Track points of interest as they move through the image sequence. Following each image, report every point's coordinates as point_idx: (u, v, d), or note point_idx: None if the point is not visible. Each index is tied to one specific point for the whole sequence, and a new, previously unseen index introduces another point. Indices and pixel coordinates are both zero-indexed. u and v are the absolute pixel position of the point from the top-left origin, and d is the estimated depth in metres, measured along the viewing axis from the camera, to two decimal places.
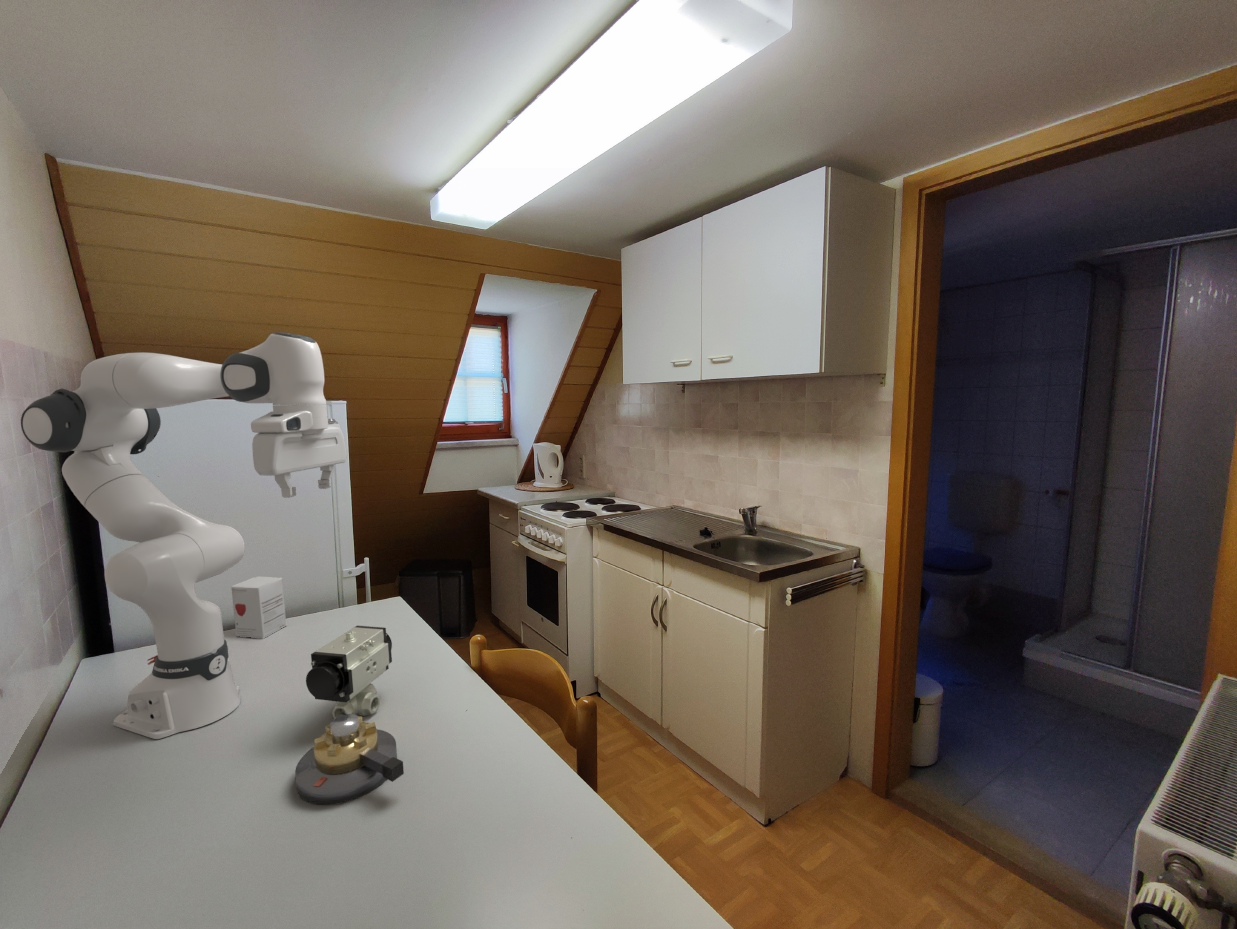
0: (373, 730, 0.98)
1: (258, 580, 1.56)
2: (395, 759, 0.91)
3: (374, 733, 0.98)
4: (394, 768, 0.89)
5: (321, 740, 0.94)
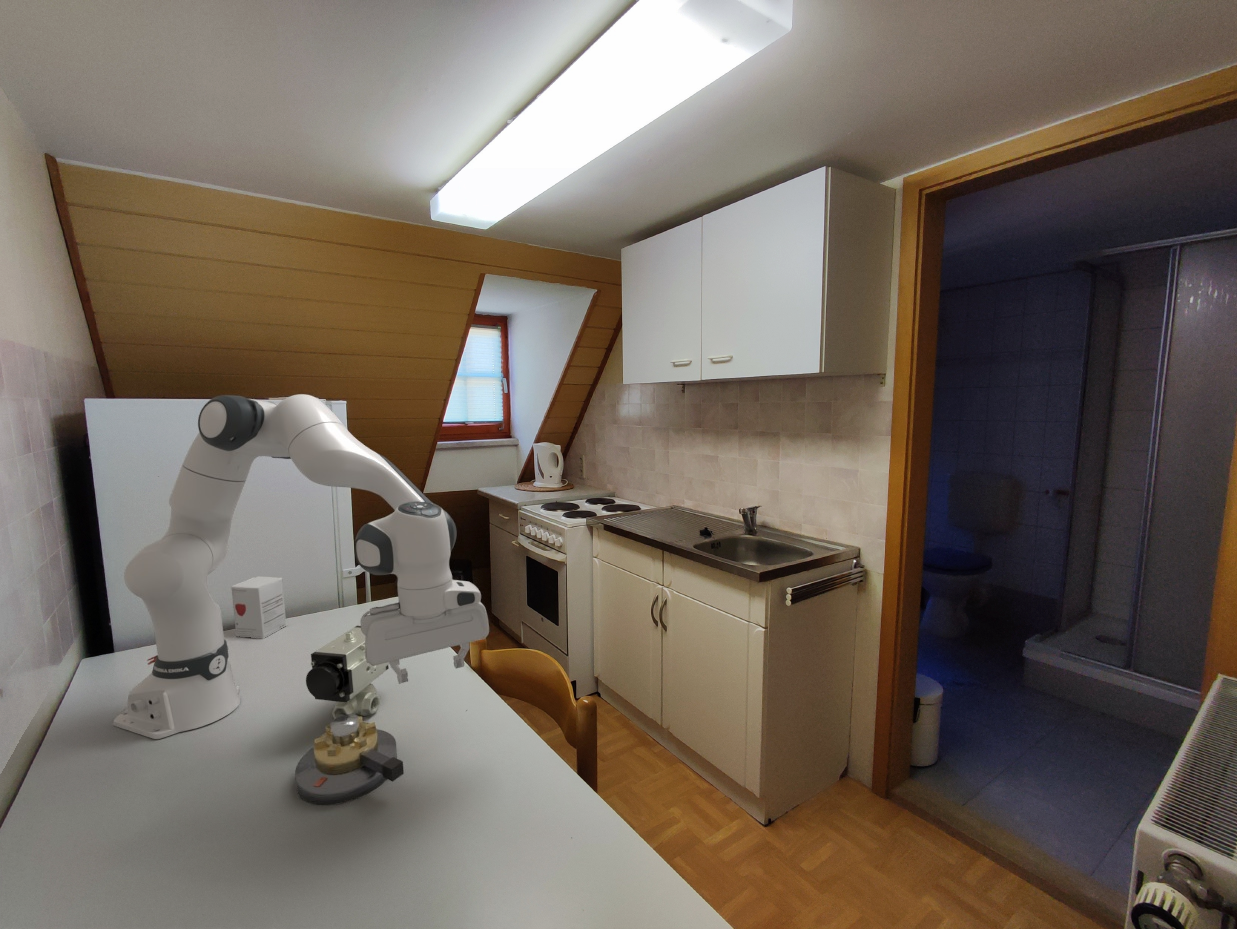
0: (373, 730, 0.98)
1: (258, 580, 1.56)
2: (395, 759, 0.91)
3: (374, 733, 0.98)
4: (394, 768, 0.89)
5: (321, 740, 0.94)
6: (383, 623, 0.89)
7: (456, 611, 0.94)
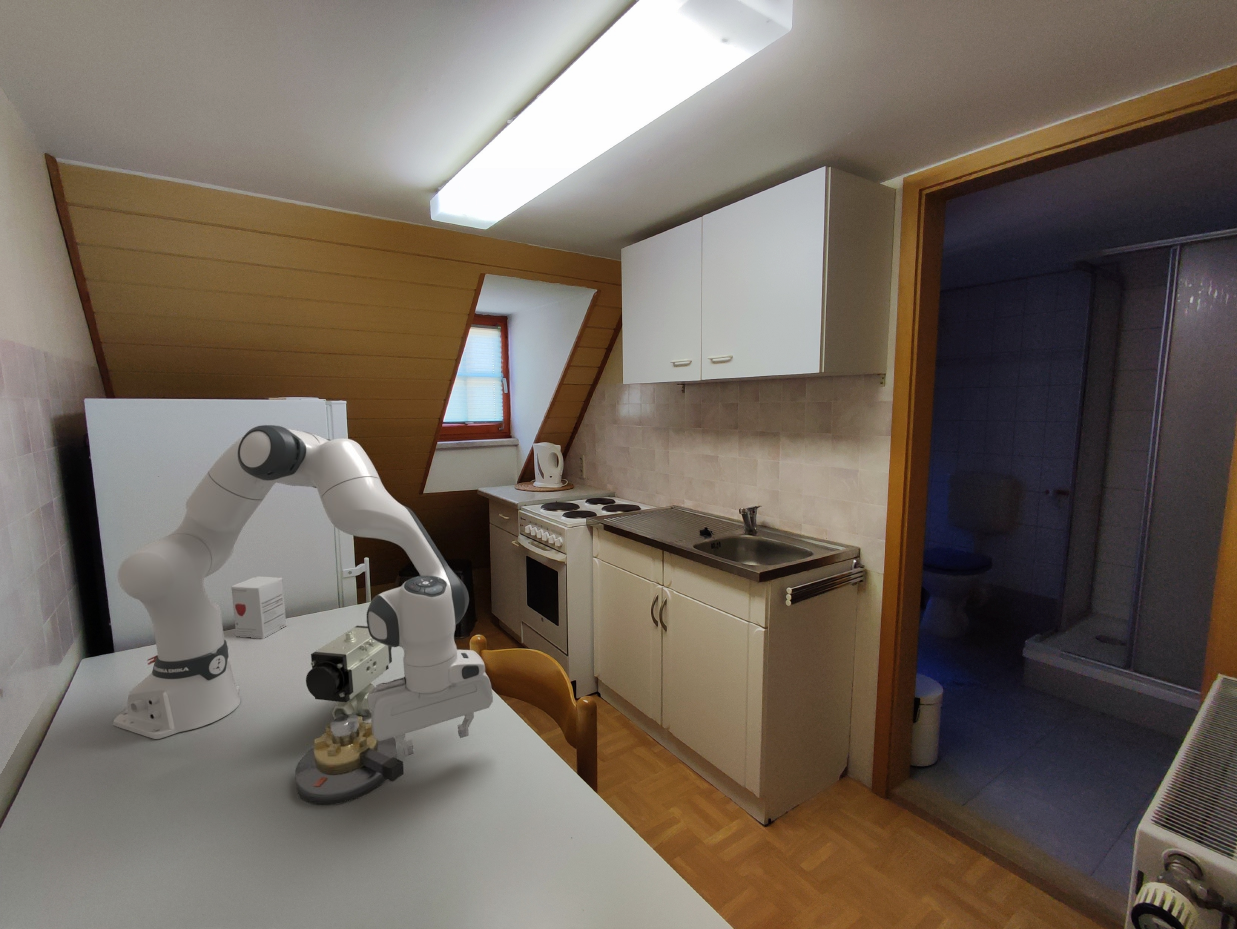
0: None
1: (258, 580, 1.56)
2: (395, 759, 0.91)
3: None
4: (394, 768, 0.89)
5: (321, 740, 0.94)
6: (390, 700, 0.90)
7: (461, 684, 0.95)
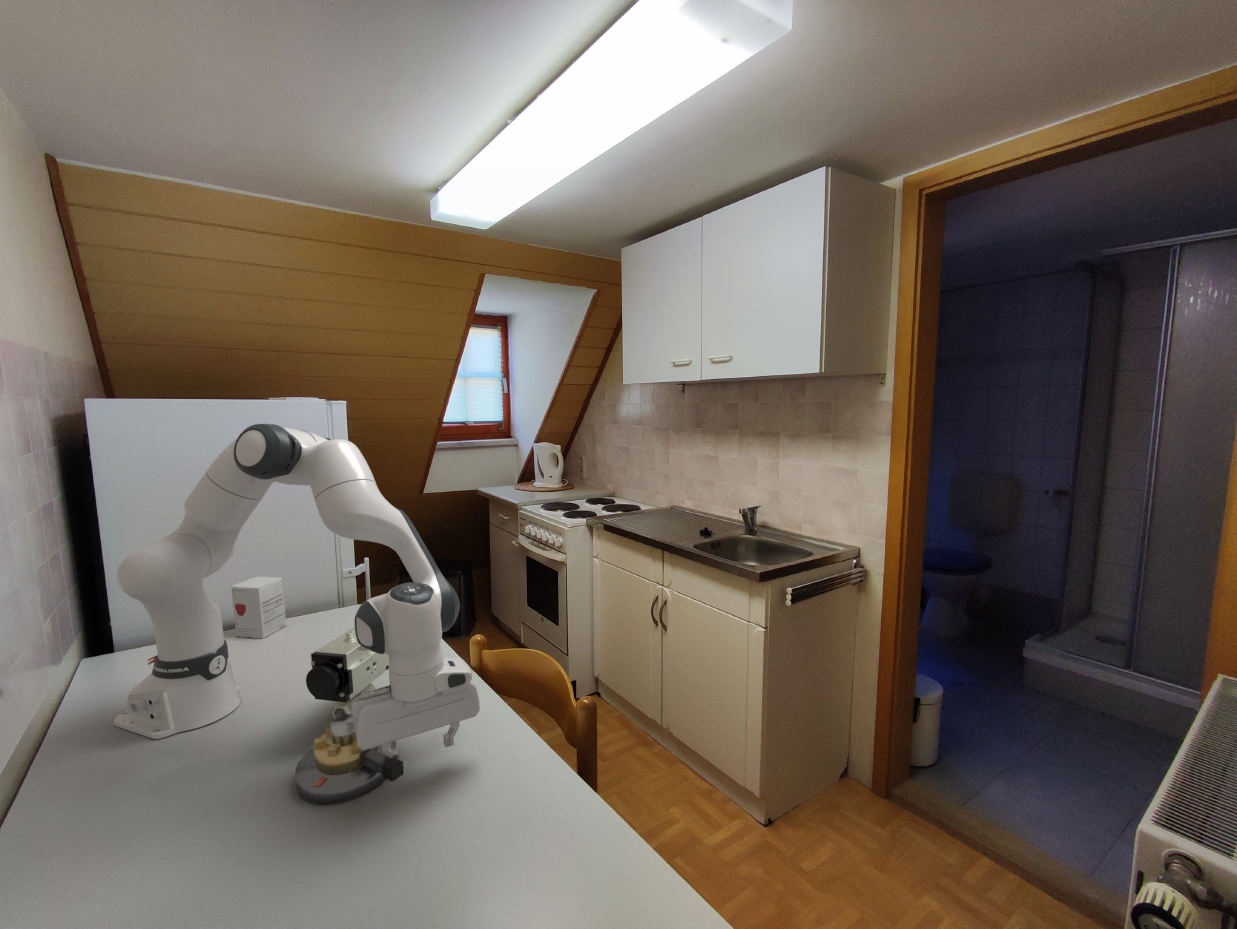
0: None
1: (258, 580, 1.56)
2: (395, 759, 0.91)
3: None
4: (394, 768, 0.89)
5: (321, 740, 0.94)
6: (374, 709, 0.89)
7: (447, 692, 0.94)
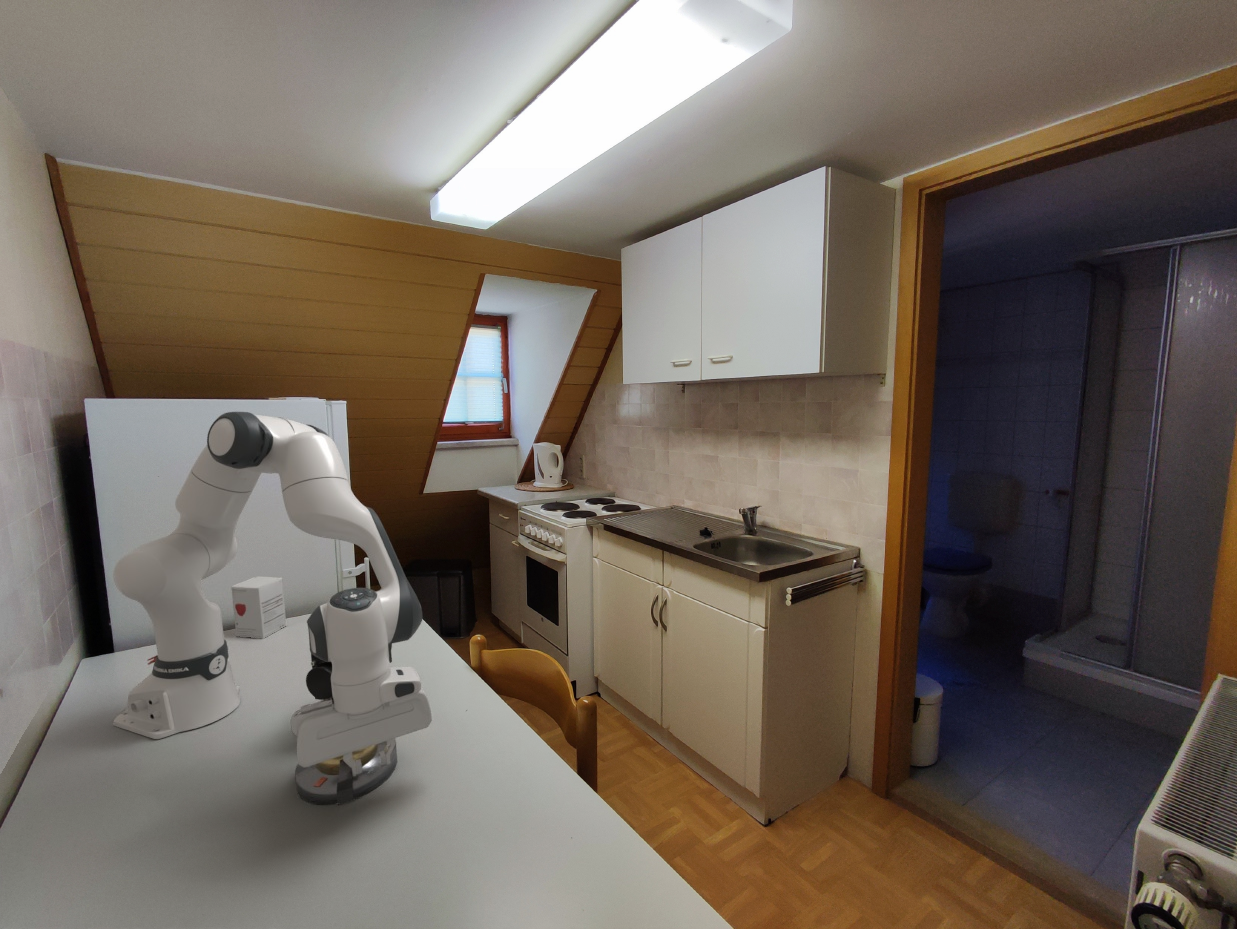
0: None
1: (258, 580, 1.56)
2: (350, 782, 0.86)
3: None
4: (340, 792, 0.84)
5: None
6: (315, 723, 0.85)
7: (394, 703, 0.90)
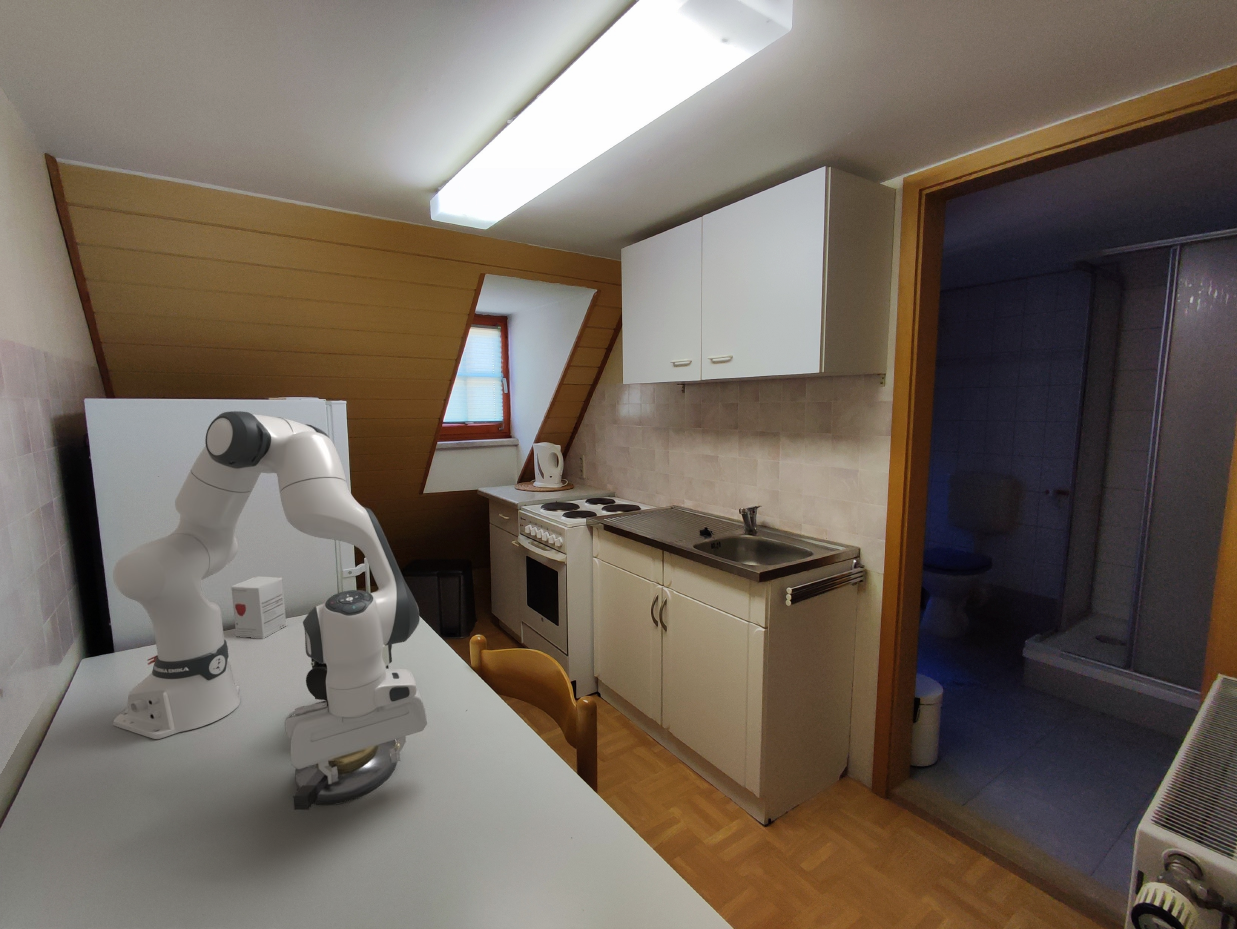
0: None
1: (258, 580, 1.56)
2: (310, 789, 0.84)
3: None
4: (296, 797, 0.83)
5: None
6: (309, 725, 0.84)
7: (389, 707, 0.89)
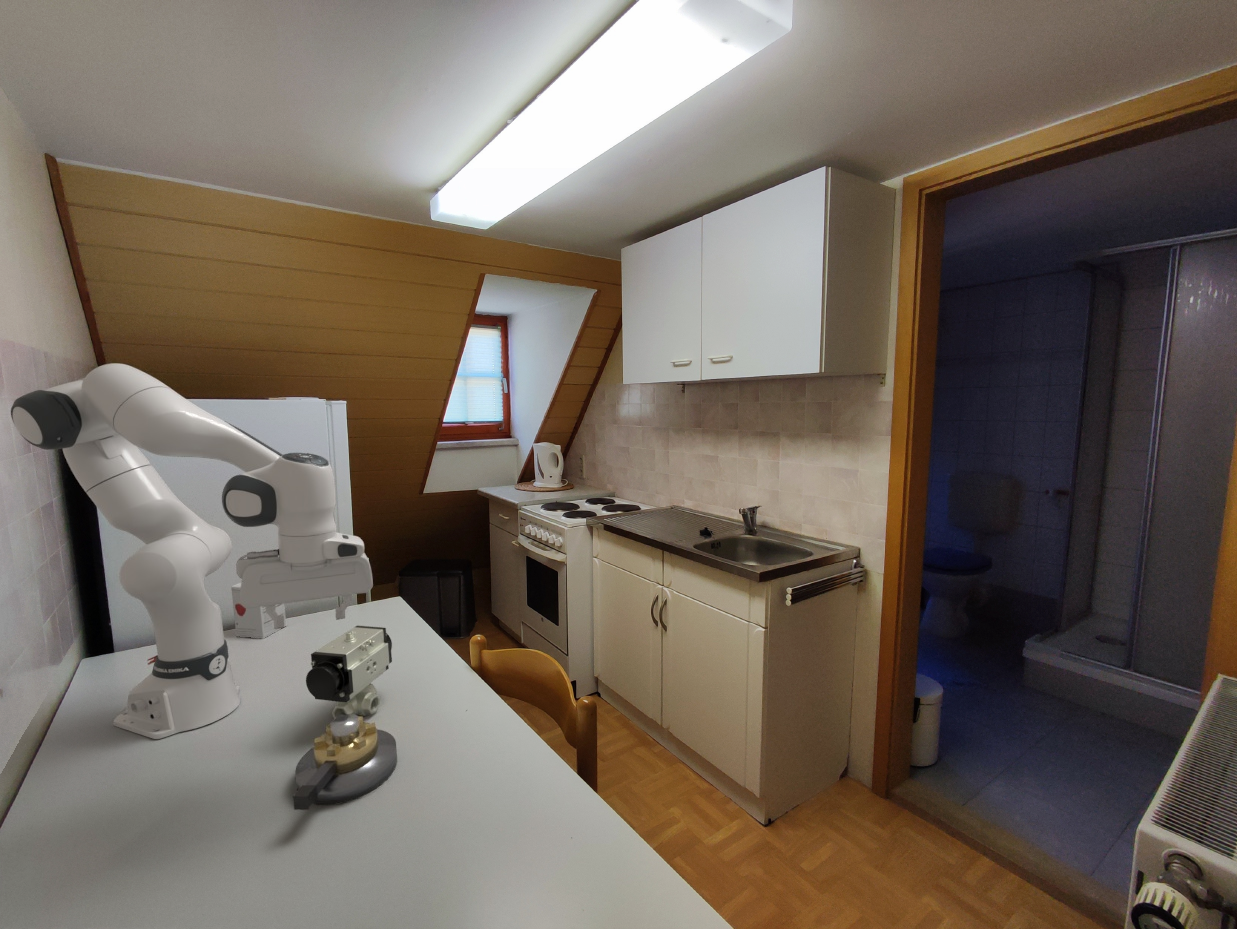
0: (357, 746, 0.94)
1: None
2: (310, 789, 0.84)
3: (356, 749, 0.93)
4: (296, 797, 0.83)
5: None
6: (259, 568, 0.91)
7: (337, 562, 0.95)
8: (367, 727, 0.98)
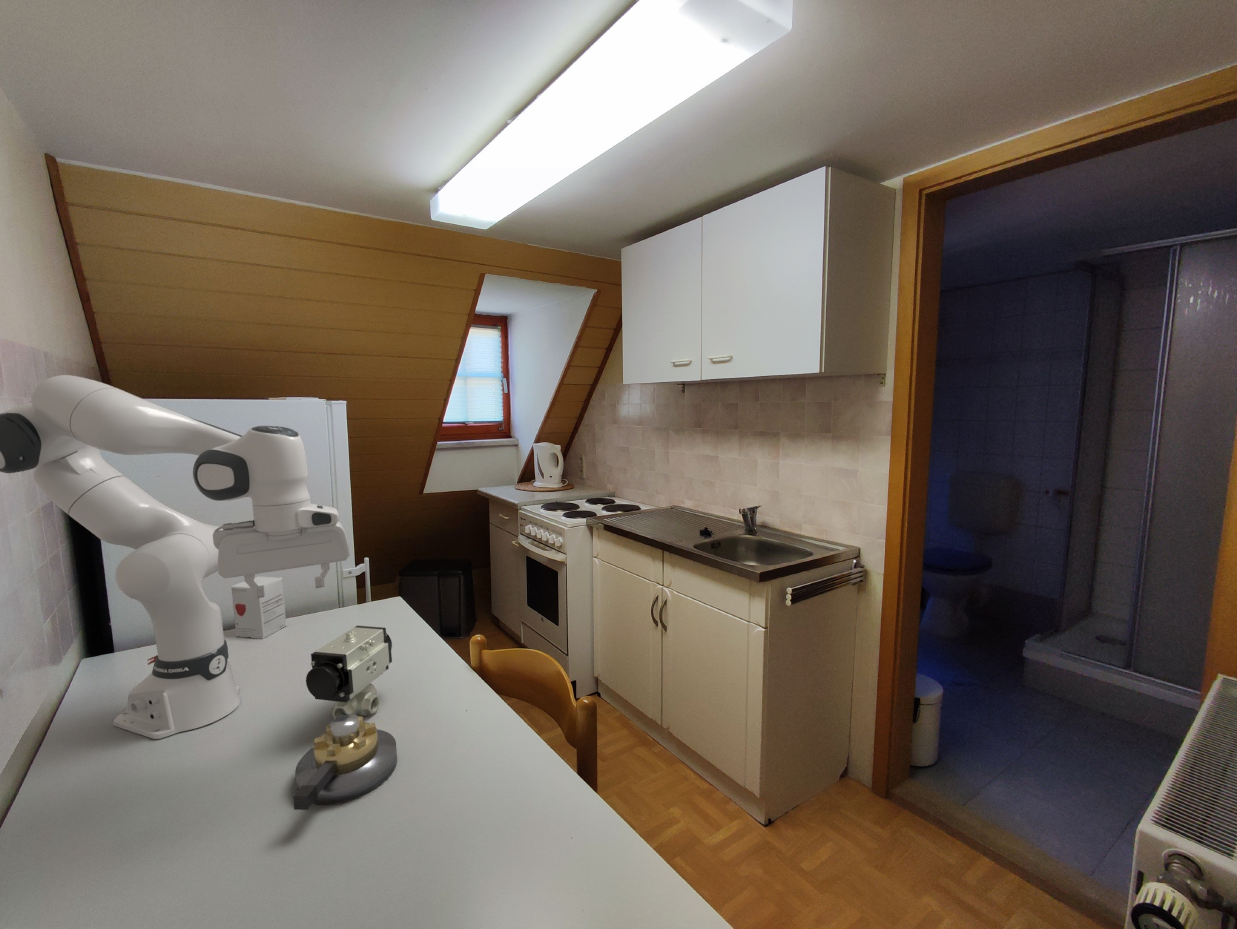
0: (357, 746, 0.94)
1: (258, 580, 1.56)
2: (310, 789, 0.84)
3: (356, 749, 0.93)
4: (296, 797, 0.83)
5: None
6: (235, 538, 0.93)
7: (312, 531, 0.98)
8: (367, 727, 0.98)
